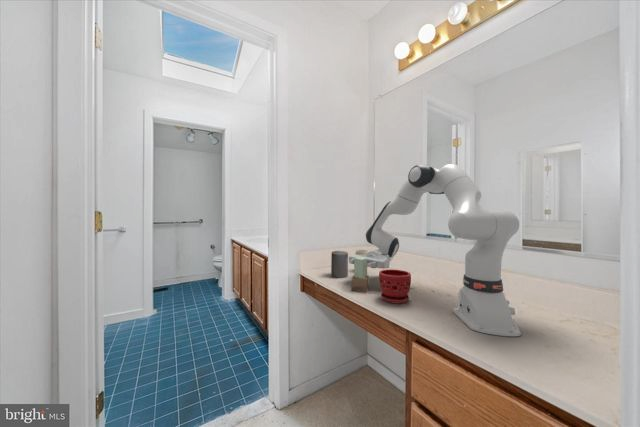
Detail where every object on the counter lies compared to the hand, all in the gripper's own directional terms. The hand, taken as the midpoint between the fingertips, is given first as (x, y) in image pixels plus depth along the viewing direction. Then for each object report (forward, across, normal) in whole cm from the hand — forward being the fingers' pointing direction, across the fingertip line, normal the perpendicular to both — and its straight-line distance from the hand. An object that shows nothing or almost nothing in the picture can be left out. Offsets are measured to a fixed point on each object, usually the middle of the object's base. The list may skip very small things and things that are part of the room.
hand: (359, 263), depth 121 cm
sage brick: (-1, 0, +6) cm, 7 cm away
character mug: (-29, -17, +13) cm, 36 cm away
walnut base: (-1, 0, +12) cm, 13 cm away
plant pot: (+1, +18, +13) cm, 22 cm away
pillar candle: (-13, -22, +13) cm, 28 cm away
